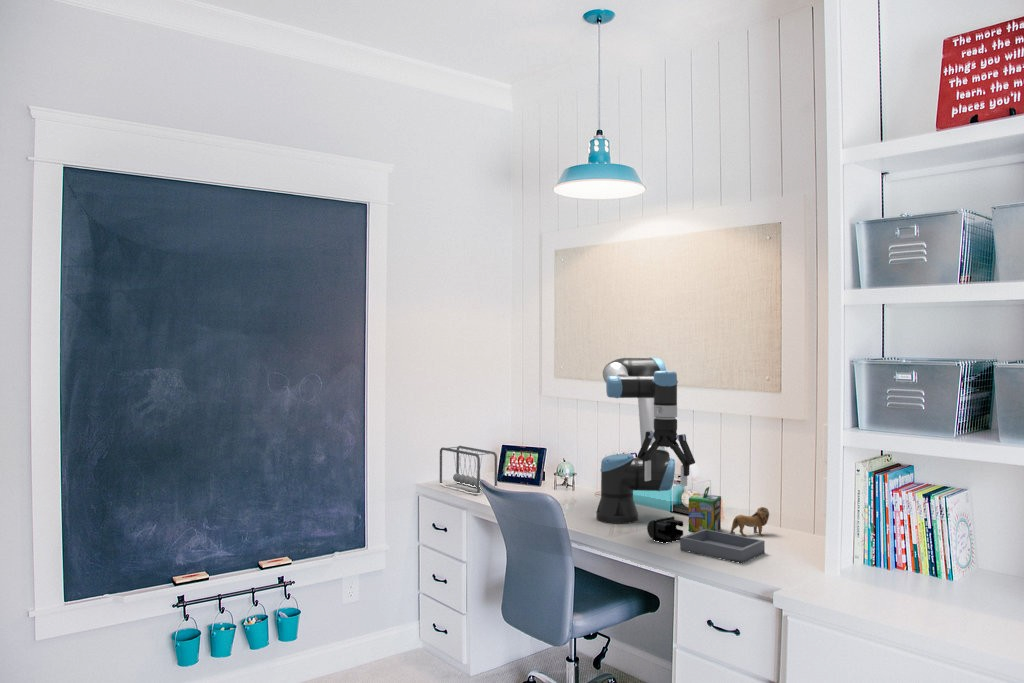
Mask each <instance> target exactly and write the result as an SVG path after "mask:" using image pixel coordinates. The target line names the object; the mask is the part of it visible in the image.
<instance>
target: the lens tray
mask: <svg viewBox="0 0 1024 683" xmlns="http://www.w3.org/2000/svg"><path fill="white" fill-rule="evenodd" d="M679 542H680V547H679V550H680V549H681V550H680V551H683V550H685V551H684V552H687V551H690V552H689V553H691V552H694V553H693V554H696V553H698V554H697V555H700V554H702V555H701V556H705V555H706V556H705V557H709V556H711V557H710V558H714V557H716V558H715V559H718V558H721V559H720V560H723V559H725V560H724V561H727V560H730V561H729V562H732V561H734V562H733V563H736V562H739V563H738V564H741V563H742V564H744V563H746V562H749V561H750V559H751V560H753V559H754V557H755V558H757V557H760V556H762V555H763V554H764V555H765V540H763V539H759V538H752V537H747V536H742V535H738V534H737V535H736V534H730V533H727V532H723V531H712V530H707V529H703V530H701V531H698V532H693V533H690V534H687V535H683V536H681V538H680V541H679ZM761 554H762V555H761ZM759 555H760V556H759ZM752 558H753V559H752ZM748 560H749V561H748ZM745 561H746V562H745ZM743 562H744V563H743Z"/></svg>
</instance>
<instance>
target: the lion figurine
mask: <svg viewBox="0 0 1024 683" xmlns="http://www.w3.org/2000/svg"><path fill="white" fill-rule="evenodd" d="M769 518H770V511H769V509H768V508H767V507H766V506H760V507H758V508H757V510H756V512H755V513H753V514H752V515H744V514H738V515H736V516H735V517H734V518H733V521H732V524H731V525H732V526H731V530H730V533H729V534H733V535H736V532H735V531H734V530H736V529H737V528H738V527H739V533H740V534H741V535H740V536H743V537H747V534H745V533H744V528H745V526H746V527H749V528H753V534H754V533H758V535H759V536H760V535H763V536H764V534H763V533H762V532H763V527H764V526H766V525H767V523H768V520H769ZM757 530H758V531H757Z"/></svg>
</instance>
